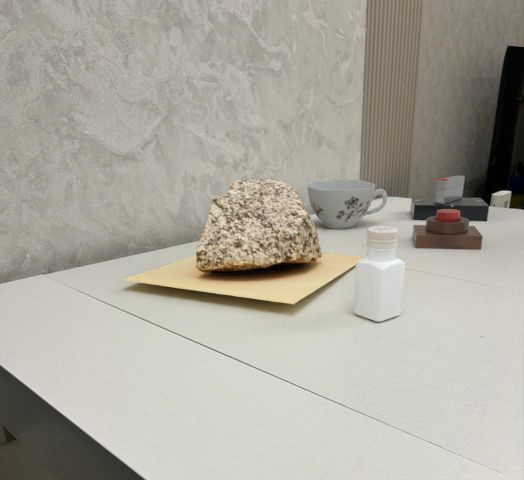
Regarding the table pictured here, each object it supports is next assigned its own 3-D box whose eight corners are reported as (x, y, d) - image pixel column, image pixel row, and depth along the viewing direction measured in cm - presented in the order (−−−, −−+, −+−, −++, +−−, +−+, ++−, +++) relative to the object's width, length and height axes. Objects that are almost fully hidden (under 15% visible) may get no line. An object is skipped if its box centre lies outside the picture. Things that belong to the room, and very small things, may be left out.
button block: (472, 238, 93) (476, 215, 92) (480, 250, 86) (484, 224, 84) (412, 237, 95) (414, 214, 93) (415, 248, 88) (417, 223, 86)
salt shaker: (351, 314, 61) (355, 228, 57) (375, 306, 63) (381, 223, 59) (378, 324, 58) (385, 234, 54) (403, 316, 60) (411, 229, 56)
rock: (227, 242, 93) (271, 154, 85) (326, 318, 90) (383, 234, 81) (116, 277, 70) (162, 161, 62) (245, 381, 66) (312, 274, 58)
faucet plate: (477, 211, 117) (479, 195, 116) (488, 223, 105) (490, 206, 104) (409, 210, 120) (411, 195, 118) (413, 221, 108) (414, 205, 107)
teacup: (307, 233, 100) (307, 188, 97) (305, 220, 111) (306, 179, 108) (390, 232, 99) (393, 186, 96) (380, 219, 111) (383, 178, 107)
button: (457, 219, 90) (458, 209, 90) (460, 224, 87) (461, 212, 87) (434, 219, 91) (436, 208, 90) (437, 223, 88) (438, 212, 87)
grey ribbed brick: (452, 197, 115) (455, 174, 113) (462, 198, 114) (465, 174, 112) (434, 203, 109) (436, 178, 107) (443, 204, 108) (446, 179, 106)
